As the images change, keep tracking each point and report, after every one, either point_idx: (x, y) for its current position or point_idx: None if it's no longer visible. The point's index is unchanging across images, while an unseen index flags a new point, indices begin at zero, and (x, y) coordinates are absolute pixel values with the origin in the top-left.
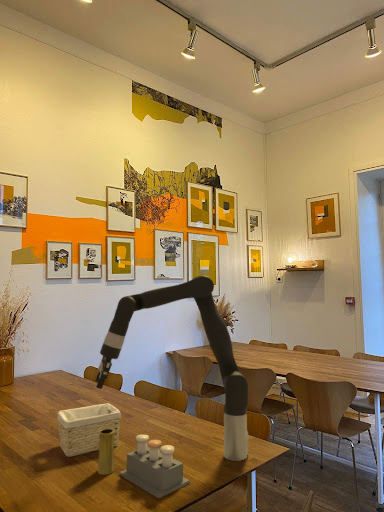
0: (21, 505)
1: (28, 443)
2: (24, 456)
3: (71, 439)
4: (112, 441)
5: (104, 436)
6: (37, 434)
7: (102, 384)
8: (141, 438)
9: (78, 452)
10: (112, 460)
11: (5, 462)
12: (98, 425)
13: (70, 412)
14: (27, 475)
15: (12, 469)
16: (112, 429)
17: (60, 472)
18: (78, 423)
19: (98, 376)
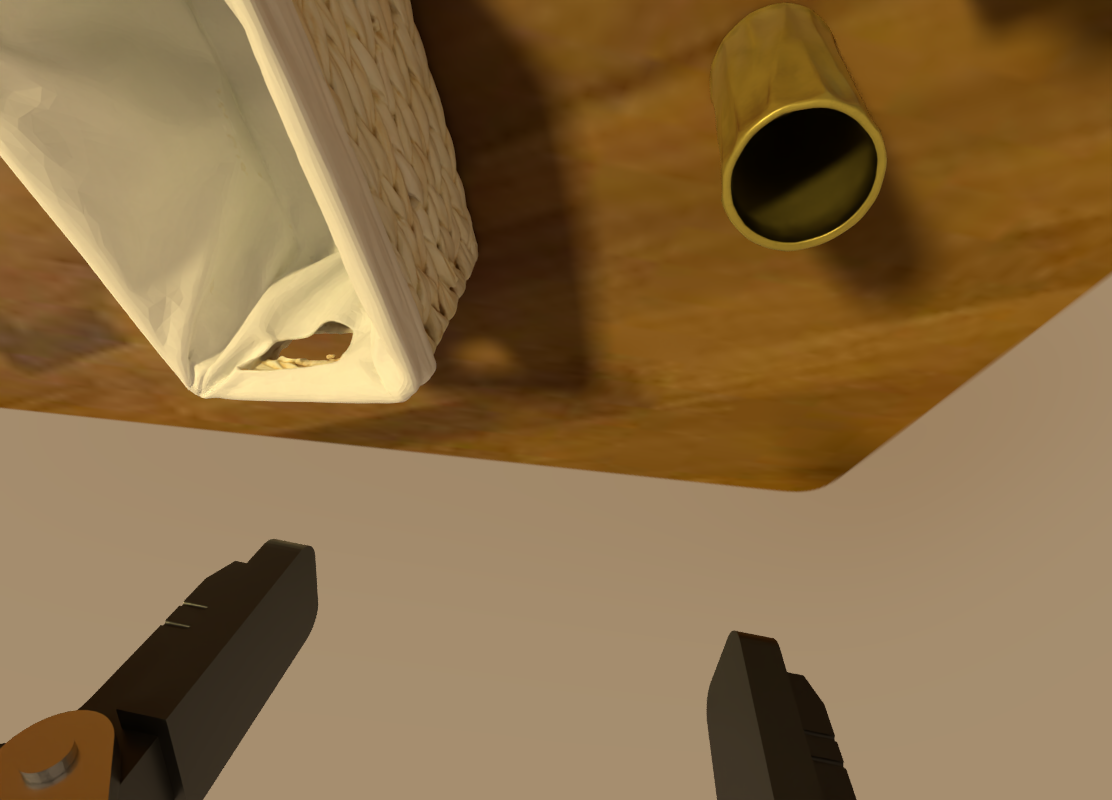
0: (844, 461)
1: None
2: (417, 402)
3: (446, 291)
4: (859, 96)
5: (852, 208)
6: None
7: (836, 751)
8: None
9: (464, 206)
10: (833, 47)
11: (458, 454)
12: (348, 118)
13: (174, 321)
14: (605, 416)
15: (528, 446)
16: (791, 107)
17: (641, 311)
18: (403, 312)
19: (250, 700)
